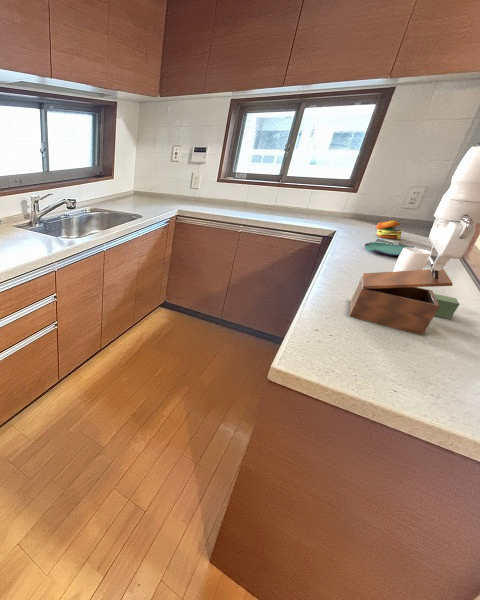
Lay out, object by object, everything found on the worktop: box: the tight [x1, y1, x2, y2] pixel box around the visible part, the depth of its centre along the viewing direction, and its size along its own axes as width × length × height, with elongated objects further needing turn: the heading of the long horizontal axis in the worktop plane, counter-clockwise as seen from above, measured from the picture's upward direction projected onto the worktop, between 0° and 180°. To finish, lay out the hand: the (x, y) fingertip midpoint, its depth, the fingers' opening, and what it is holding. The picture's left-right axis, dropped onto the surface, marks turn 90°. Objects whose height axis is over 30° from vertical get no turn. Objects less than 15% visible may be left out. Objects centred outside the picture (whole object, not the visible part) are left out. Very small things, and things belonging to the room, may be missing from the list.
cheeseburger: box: [375, 219, 403, 240], centre depth 173 cm, size 10×11×10 cm
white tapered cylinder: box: [392, 247, 431, 272], centre depth 106 cm, size 7×7×15 cm
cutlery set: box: [364, 238, 416, 257], centre depth 152 cm, size 20×30×2 cm, turn 132°
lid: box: [362, 257, 453, 289], centre depth 88 cm, size 16×13×5 cm
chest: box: [349, 275, 440, 336], centre depth 92 cm, size 16×13×9 cm
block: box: [434, 293, 460, 320], centre depth 96 cm, size 5×5×5 cm
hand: (433, 265), depth 84 cm, fingers closed on lid, 5 cm apart
